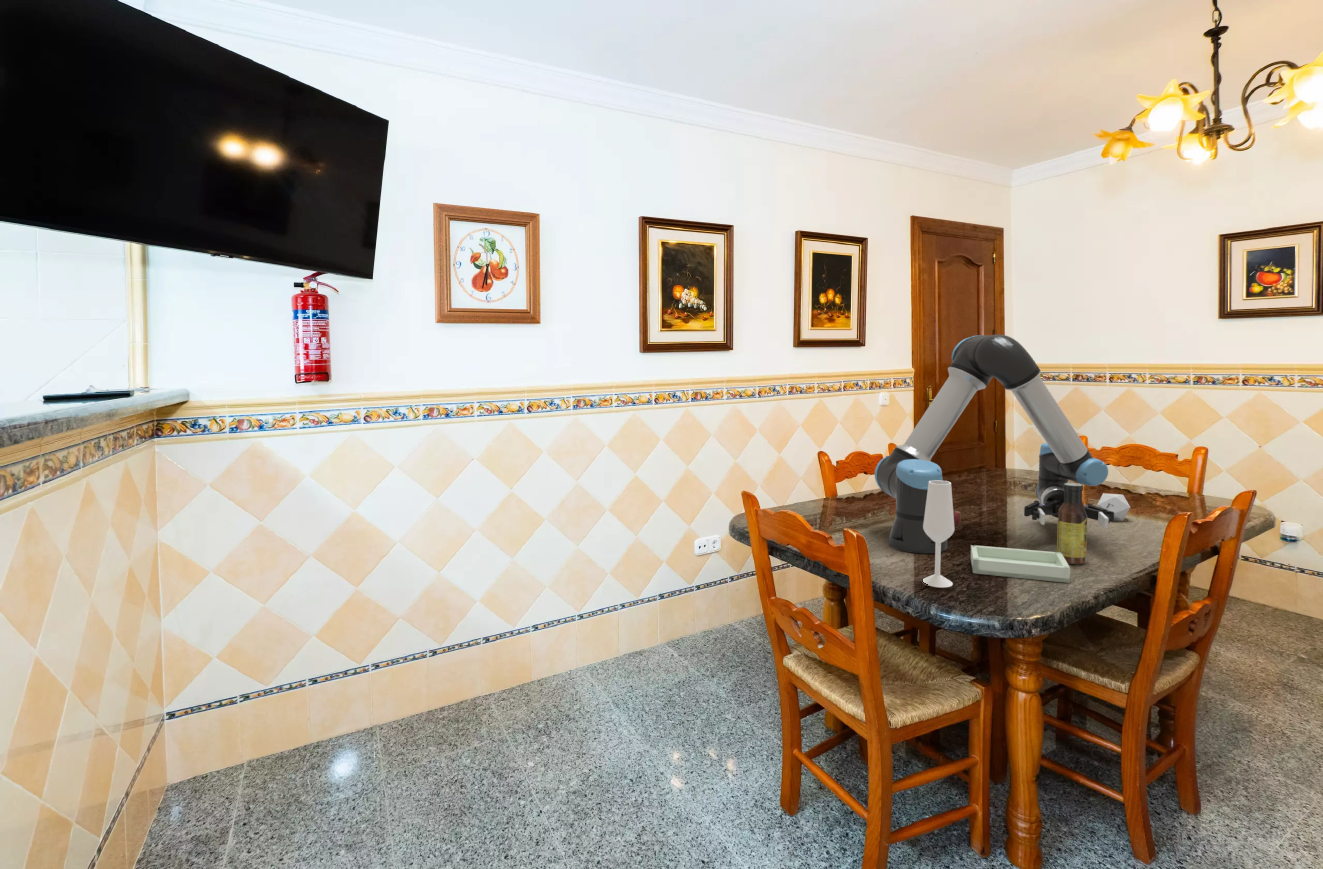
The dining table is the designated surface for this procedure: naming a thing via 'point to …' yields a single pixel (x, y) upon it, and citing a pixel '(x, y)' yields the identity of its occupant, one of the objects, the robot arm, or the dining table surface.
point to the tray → (1020, 563)
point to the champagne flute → (938, 524)
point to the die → (1114, 505)
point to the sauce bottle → (1072, 525)
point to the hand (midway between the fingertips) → (1074, 521)
